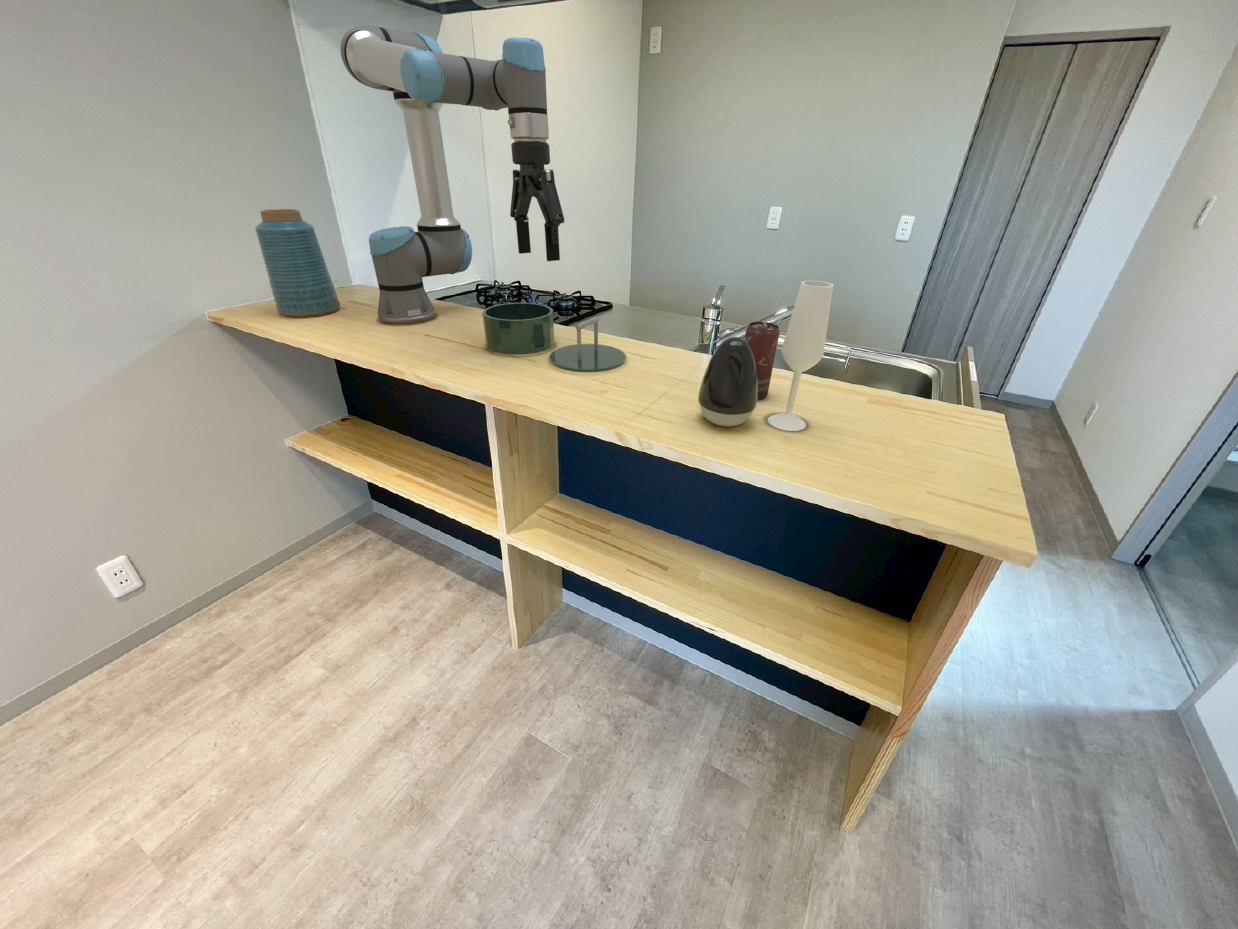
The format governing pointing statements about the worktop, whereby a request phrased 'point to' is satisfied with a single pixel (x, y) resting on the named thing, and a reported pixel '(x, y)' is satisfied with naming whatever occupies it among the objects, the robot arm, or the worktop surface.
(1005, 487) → the worktop surface
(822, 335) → the champagne flute
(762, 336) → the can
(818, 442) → the worktop surface
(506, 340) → the pot
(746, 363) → the dark grey egg shape
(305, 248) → the vase
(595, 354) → the lid
